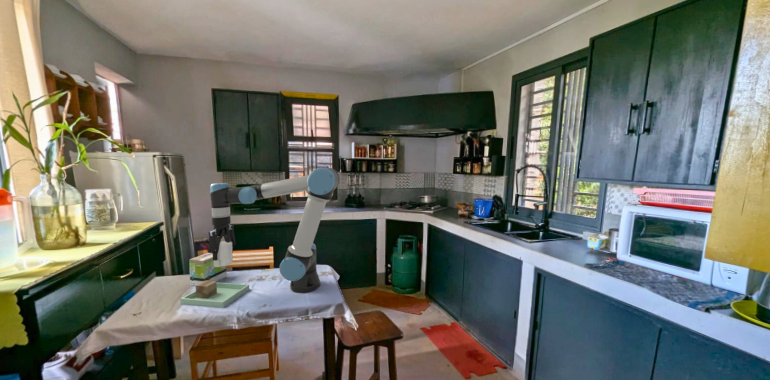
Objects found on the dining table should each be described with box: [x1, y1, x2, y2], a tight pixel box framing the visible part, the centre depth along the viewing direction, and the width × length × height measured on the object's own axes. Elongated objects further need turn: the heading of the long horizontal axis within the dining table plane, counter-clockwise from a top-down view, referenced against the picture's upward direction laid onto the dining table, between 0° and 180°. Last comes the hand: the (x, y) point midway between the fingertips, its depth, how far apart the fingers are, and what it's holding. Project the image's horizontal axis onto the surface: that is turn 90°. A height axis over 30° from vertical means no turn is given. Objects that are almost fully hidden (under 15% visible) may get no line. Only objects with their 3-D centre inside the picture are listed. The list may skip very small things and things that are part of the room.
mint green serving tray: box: [179, 281, 250, 308], centre depth 135 cm, size 22×19×3 cm
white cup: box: [215, 240, 233, 267], centre depth 133 cm, size 8×8×10 cm
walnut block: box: [195, 281, 217, 299], centre depth 136 cm, size 6×6×6 cm
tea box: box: [188, 252, 228, 287], centre depth 153 cm, size 15×10×15 cm, turn 168°
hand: (223, 263), depth 133 cm, fingers closed on white cup, 8 cm apart
